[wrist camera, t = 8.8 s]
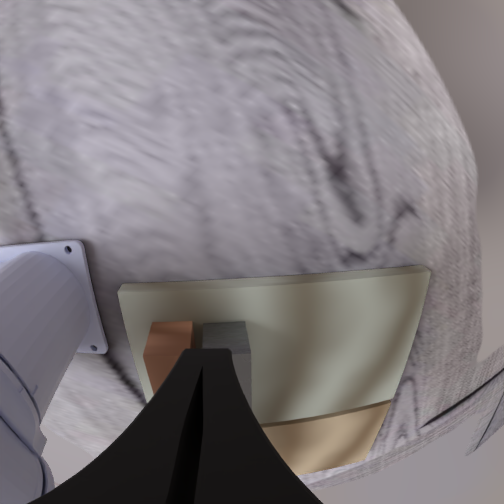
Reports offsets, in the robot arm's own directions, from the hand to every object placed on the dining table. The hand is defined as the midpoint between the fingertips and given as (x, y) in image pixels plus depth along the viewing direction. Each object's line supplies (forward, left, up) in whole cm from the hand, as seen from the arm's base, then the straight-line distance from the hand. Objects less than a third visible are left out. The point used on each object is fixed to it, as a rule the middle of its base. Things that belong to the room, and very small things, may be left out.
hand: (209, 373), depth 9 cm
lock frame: (+4, -13, -9) cm, 17 cm away
